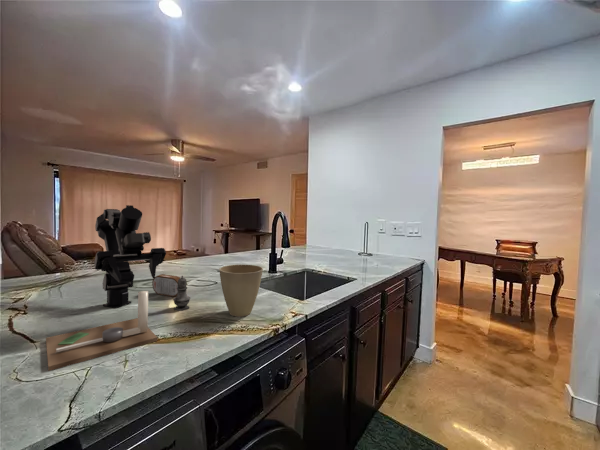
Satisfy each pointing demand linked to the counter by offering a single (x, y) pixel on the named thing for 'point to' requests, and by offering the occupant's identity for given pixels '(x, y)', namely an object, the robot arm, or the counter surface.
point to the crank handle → (118, 332)
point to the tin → (166, 285)
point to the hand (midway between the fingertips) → (137, 279)
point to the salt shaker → (181, 296)
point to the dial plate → (93, 349)
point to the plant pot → (240, 287)
